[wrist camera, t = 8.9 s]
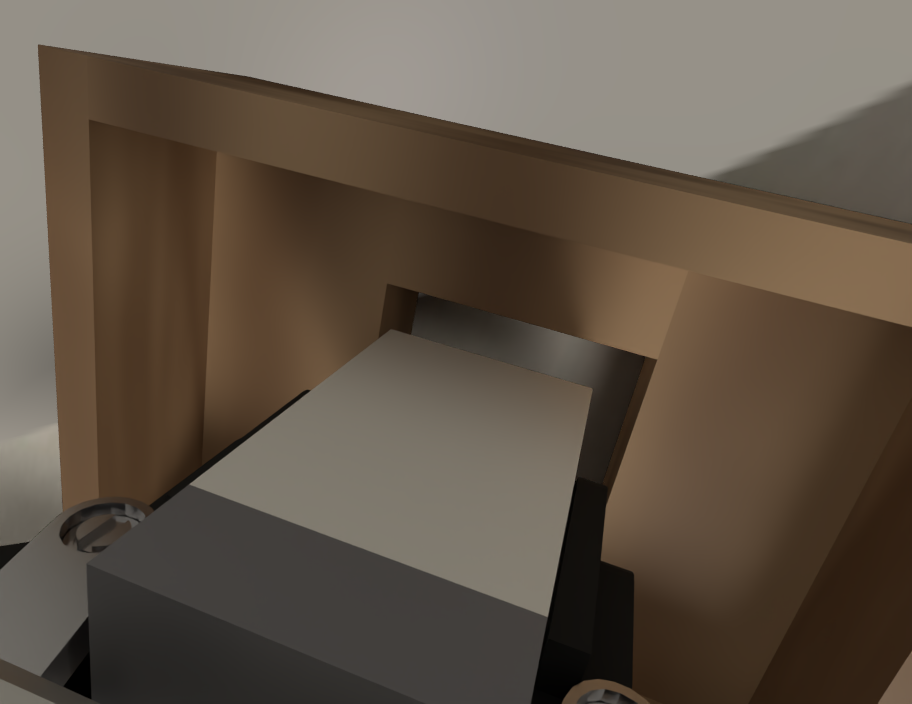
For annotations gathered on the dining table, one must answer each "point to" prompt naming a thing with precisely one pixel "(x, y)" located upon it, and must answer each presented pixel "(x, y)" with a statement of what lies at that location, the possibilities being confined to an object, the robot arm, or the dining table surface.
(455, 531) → the grey plug
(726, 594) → the walled box
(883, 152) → the dining table surface
